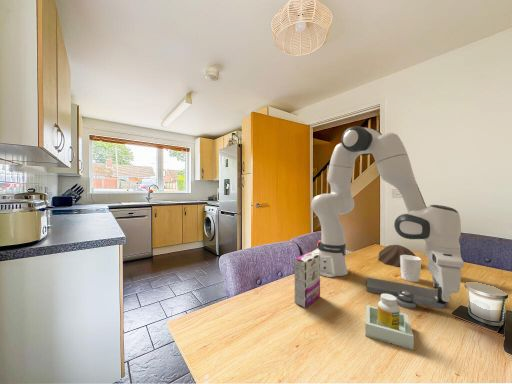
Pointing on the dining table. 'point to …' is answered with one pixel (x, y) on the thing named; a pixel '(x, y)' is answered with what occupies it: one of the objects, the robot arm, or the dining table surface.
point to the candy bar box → (307, 278)
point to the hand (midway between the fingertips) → (440, 293)
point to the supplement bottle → (388, 312)
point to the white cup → (410, 267)
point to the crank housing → (394, 288)
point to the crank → (422, 299)
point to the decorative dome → (393, 254)
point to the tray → (389, 329)
